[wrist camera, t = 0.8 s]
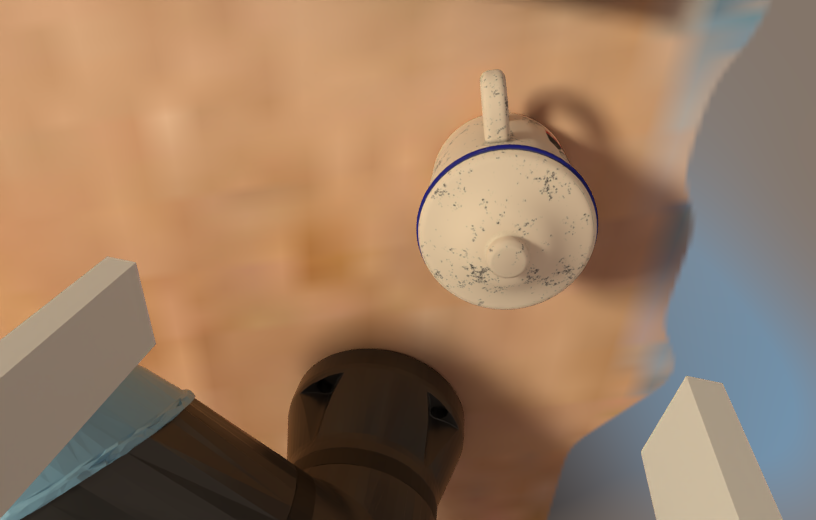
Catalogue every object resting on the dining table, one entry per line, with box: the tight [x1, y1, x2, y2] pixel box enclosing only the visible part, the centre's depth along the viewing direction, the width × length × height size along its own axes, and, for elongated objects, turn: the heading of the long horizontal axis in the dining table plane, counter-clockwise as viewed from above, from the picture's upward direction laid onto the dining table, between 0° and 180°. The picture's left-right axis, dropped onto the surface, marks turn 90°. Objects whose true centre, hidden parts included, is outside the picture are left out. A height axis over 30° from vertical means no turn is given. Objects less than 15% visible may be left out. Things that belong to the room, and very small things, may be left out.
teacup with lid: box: [417, 69, 598, 309], centre depth 27 cm, size 12×9×12 cm
